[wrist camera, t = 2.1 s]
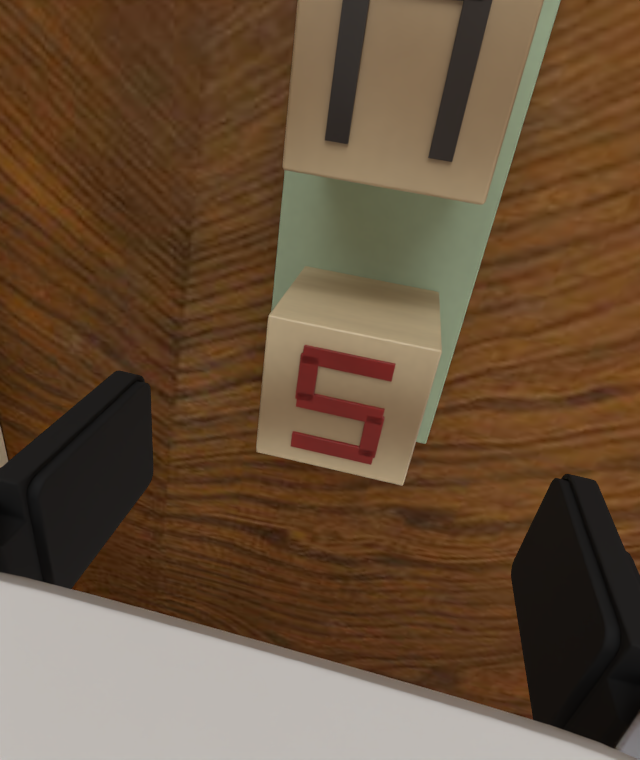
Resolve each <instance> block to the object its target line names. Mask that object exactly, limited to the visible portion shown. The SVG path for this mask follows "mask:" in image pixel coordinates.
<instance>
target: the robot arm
mask: <svg viewBox="0 0 640 760" xmlns="http://www.w3.org/2000/svg"><path fill="white" fill-rule="evenodd" d="M152 476H153V448H152V419H151V391H150V386H149V384H148V383H145V382H144V379H143V377H142V376H140V375H136V374H132V373H127V372H123V371H116V372H114V373H113V374H112V375H110V376H109V377H108V378H107V379H106V380H105V381H103V382H102V383H101V384H100V385H99V386H97V387H96V388H95V389H94V390H93V391H91V392H90V393H89V394H88V395H87V396H86V397H84V398H83V399H82V400H81V401H80V402H78V403H77V404H76V405H75V406H74V407H72V408H71V409H70V410H69V411H68V412H67V413H65V414H64V415H63V416H62V417H61V418H59V419H58V420H57V421H56V422H55V423H53V424H52V425H51V426H50V427H49V428H47V429H46V430H45V431H44V432H43V433H42V434H40V435H39V436H38V437H37V438H36V439H34V440H33V441H32V442H31V443H30V444H28V445H27V446H26V447H25V448H24V449H23V450H21V451H20V452H19V453H18V454H17V455H15V456H14V457H13V458H12V459H11V460H9V461H8V462H7V463H6V464H5V465H4V466H2V467H1V468H0V760H640V575H639V573H638V570H637V568H636V566H635V563H634V561H633V559H632V557H631V556H630V554H629V553H628V552H626V551H625V549H624V546H623V544H622V541H621V539H620V537H619V534H618V532H617V530H616V527H615V525H614V522H613V520H612V518H611V515H610V513H609V510H608V508H607V506H606V503H605V501H604V498H603V496H602V494H601V491H600V489H599V486H598V484H597V483H596V481H594V480H592V479H588V478H583V477H579V476H575V475H570V474H565V475H564V476H563V477H562V478H561V479H558V478H555V479H554V480H553V481H552V483H551V484H550V486H549V489H548V491H547V493H546V495H545V497H544V499H543V501H542V503H541V505H540V507H539V509H538V511H537V513H536V516H535V518H534V520H533V522H532V524H531V526H530V528H529V530H528V532H527V534H526V536H525V538H524V540H523V543H522V545H521V547H520V549H519V551H518V553H517V555H516V557H515V559H514V562H513V565H512V570H511V579H512V585H513V592H514V598H515V605H516V611H517V618H518V624H519V630H520V637H521V643H522V650H523V656H524V663H525V669H526V675H527V682H528V688H529V695H530V701H531V708H532V714H533V720H531V719H528V718H525V717H522V716H518V715H515V714H512V713H508V712H505V711H502V710H499V709H495V708H492V707H489V706H485V705H482V704H479V703H476V702H472V701H469V700H465V699H462V698H458V697H455V696H451V695H448V694H445V693H441V692H438V691H434V690H431V689H427V688H424V687H420V686H417V685H413V684H410V683H406V682H403V681H399V680H396V679H392V678H389V677H385V676H382V675H378V674H375V673H371V672H368V671H364V670H361V669H357V668H354V667H350V666H347V665H343V664H340V663H336V662H333V661H329V660H326V659H322V658H319V657H315V656H312V655H308V654H304V653H301V652H297V651H294V650H290V649H287V648H283V647H280V646H276V645H273V644H269V643H265V642H262V641H258V640H255V639H251V638H248V637H244V636H240V635H237V634H233V633H230V632H226V631H223V630H219V629H215V628H212V627H208V626H205V625H201V624H198V623H194V622H190V621H187V620H183V619H179V618H176V617H172V616H168V615H165V614H161V613H158V612H154V611H150V610H147V609H143V608H139V607H136V606H132V605H128V604H125V603H121V602H118V601H114V600H110V599H107V598H103V597H99V596H96V595H92V594H88V593H84V592H80V591H76V590H73V589H71V588H72V587H73V586H74V584H75V583H76V582H77V580H78V579H79V578H80V576H81V575H82V574H83V572H84V571H85V570H86V568H87V567H88V566H89V564H90V563H91V562H92V560H93V559H94V558H95V556H96V555H97V554H98V552H99V551H100V550H101V548H102V547H103V546H104V544H105V543H106V542H107V540H108V539H109V538H110V536H111V535H112V534H113V532H114V531H115V530H116V528H117V527H118V526H119V524H120V523H121V522H122V520H123V519H124V518H125V516H126V515H127V514H128V512H129V511H130V510H131V508H132V507H133V506H134V504H135V503H136V502H137V500H138V499H139V498H140V496H141V495H142V494H143V492H144V491H145V490H146V488H147V487H148V485H149V484H150V482H151V479H152Z"/></svg>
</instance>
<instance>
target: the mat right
mask: <svg viewBox="0 0 640 760" xmlns="http://www.w3.org/2000/svg"><path fill="white" fill-rule="evenodd" d="M560 1H561V0H544V2H543V6H542V9H541V13H540V16H539V20H538V23H537V27H536V30H535V33H534V37H533V40H532V44H531V47H530V51H529V54H528V57H527V61H526V64H525V68H524V71H523V75H522V78H521V82H520V85H519V88H518V92H517V95H516V99H515V102H514V106H513V109H512V113H511V116H510V119H509V123H508V126H507V130H506V133H505V137H504V140H503V144H502V147H501V150H500V154H499V157H498V161H497V164H496V168H495V171H494V174H493V178H492V181H491V185H490V188H489V192H488V195H487V199H486V202H485V203H484V204H482V205H478V204H472V203H467V202H461V201H455V200H450V199H444V198H438V197H433V196H427V195H422V194H416V193H410V192H405V191H399V190H393V189H388V188H382V187H376V186H371V185H365V184H360V183H354V182H348V181H343V180H337V179H331V178H326V177H320V176H314V175H309V174H303V173H297V172H292V171H286V170H285V172H284V183H283V193H282V204H281V214H280V225H279V235H278V246H277V257H276V267H275V278H274V288H273V299H272V309H271V312H272V310H273V309H274V308H275V306H276V305H277V304H278V302H279V301H280V300H281V298H282V297H283V295H284V294H285V293H286V291H287V290H288V289H289V287H290V286H291V285H292V283H293V282H294V281H295V279H296V278H297V277H298V275H299V274H300V272H301V271H302V270H303V268H304V267H305V266H308V267H313V268H318V269H323V270H329V271H334V272H339V273H344V274H349V275H354V276H359V277H364V278H370V279H375V280H380V281H385V282H390V283H395V284H400V285H406V286H411V287H416V288H421V289H426V290H431V291H436V292H439V299H440V321H441V343H442V354H441V357H440V361H439V364H438V368H437V371H436V374H435V378H434V381H433V385H432V388H431V392H430V395H429V398H428V402H427V405H426V409H425V412H424V416H423V419H422V423H421V426H420V429H419V433H418V436H417V440H416V442H419V443H424V444H425V443H426V442H427V438H428V435H429V432H430V429H431V425H432V422H433V419H434V415H435V412H436V409H437V406H438V402H439V399H440V396H441V392H442V389H443V386H444V383H445V379H446V376H447V373H448V369H449V366H450V363H451V360H452V356H453V353H454V350H455V346H456V343H457V340H458V336H459V333H460V330H461V327H462V323H463V320H464V317H465V313H466V310H467V307H468V304H469V300H470V297H471V294H472V290H473V287H474V284H475V281H476V277H477V274H478V271H479V267H480V264H481V261H482V258H483V254H484V251H485V248H486V244H487V241H488V238H489V235H490V231H491V228H492V225H493V221H494V218H495V215H496V211H497V208H498V205H499V202H500V198H501V195H502V192H503V188H504V185H505V182H506V179H507V175H508V172H509V169H510V165H511V162H512V159H513V156H514V152H515V149H516V146H517V142H518V139H519V136H520V133H521V129H522V126H523V123H524V119H525V116H526V113H527V110H528V106H529V103H530V100H531V96H532V93H533V90H534V86H535V83H536V80H537V77H538V73H539V70H540V67H541V63H542V60H543V57H544V54H545V50H546V47H547V44H548V40H549V37H550V34H551V31H552V27H553V24H554V21H555V17H556V14H557V11H558V8H559V4H560Z"/></svg>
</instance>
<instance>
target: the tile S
mask: <svg viewBox="0 0 640 760" xmlns="http://www.w3.org/2000/svg"><path fill="white" fill-rule="evenodd" d="M441 354H442V343H441V321H440V299H439V292H436V291H431V290H426V289H421V288H416V287H411V286H406V285H400V284H395V283H390V282H385V281H380V280H375V279H370V278H364V277H359V276H354V275H349V274H344V273H339V272H334V271H329V270H323V269H318V268H313V267H308V266H305V267H304V268H303V270H302V271H301V272H300V274H299V275H298V277H297V278H296V279H295V281H294V282H293V283H292V285H291V286H290V287H289V289H288V290H287V291H286V293H285V294H284V295H283V297H282V298H281V300H280V301H279V302H278V304H277V305H276V306H275V308H274V309H273V310H272V312H271V313H270V314H269V316H268V324H267V335H266V346H265V357H264V367H263V378H262V389H261V400H260V411H259V422H258V433H257V443H256V451H257V452H259V453H264V454H268V455H272V456H277V457H281V458H285V459H289V460H294V461H298V462H302V463H307V464H311V465H315V466H320V467H324V468H328V469H333V470H337V471H341V472H345V473H350V474H354V475H358V476H363V477H367V478H371V479H376V480H380V481H384V482H389V483H393V484H397V485H403V484H404V481H405V478H406V474H407V471H408V467H409V464H410V460H411V457H412V454H413V450H414V447H415V443H416V440H417V436H418V433H419V429H420V426H421V423H422V419H423V416H424V412H425V409H426V405H427V402H428V398H429V395H430V392H431V388H432V385H433V381H434V378H435V374H436V371H437V368H438V364H439V361H440V357H441Z"/></svg>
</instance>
